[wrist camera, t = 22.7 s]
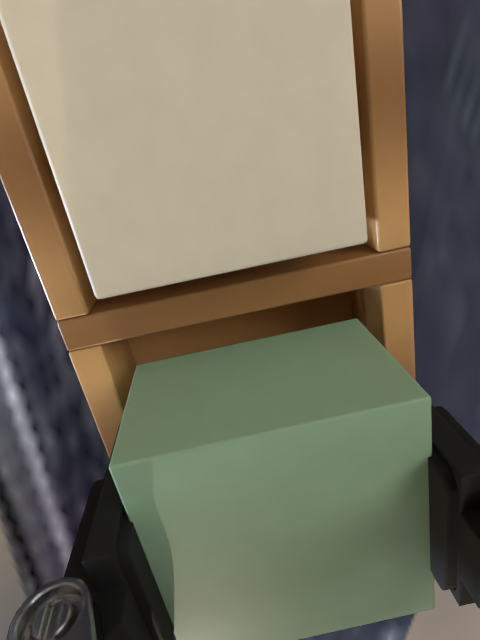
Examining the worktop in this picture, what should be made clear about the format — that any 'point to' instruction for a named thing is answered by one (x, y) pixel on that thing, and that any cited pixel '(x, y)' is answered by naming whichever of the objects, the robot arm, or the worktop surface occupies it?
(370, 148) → the holder
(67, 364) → the worktop surface
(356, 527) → the pad
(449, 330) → the worktop surface
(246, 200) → the pad
